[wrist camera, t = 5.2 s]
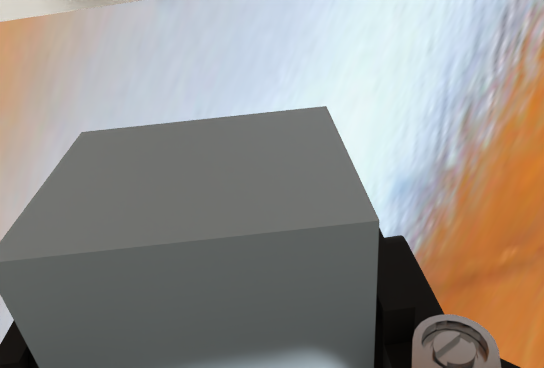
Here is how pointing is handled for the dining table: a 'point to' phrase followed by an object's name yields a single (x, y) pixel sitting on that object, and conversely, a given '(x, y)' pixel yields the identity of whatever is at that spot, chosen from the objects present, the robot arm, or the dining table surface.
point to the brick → (198, 249)
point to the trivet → (48, 7)
